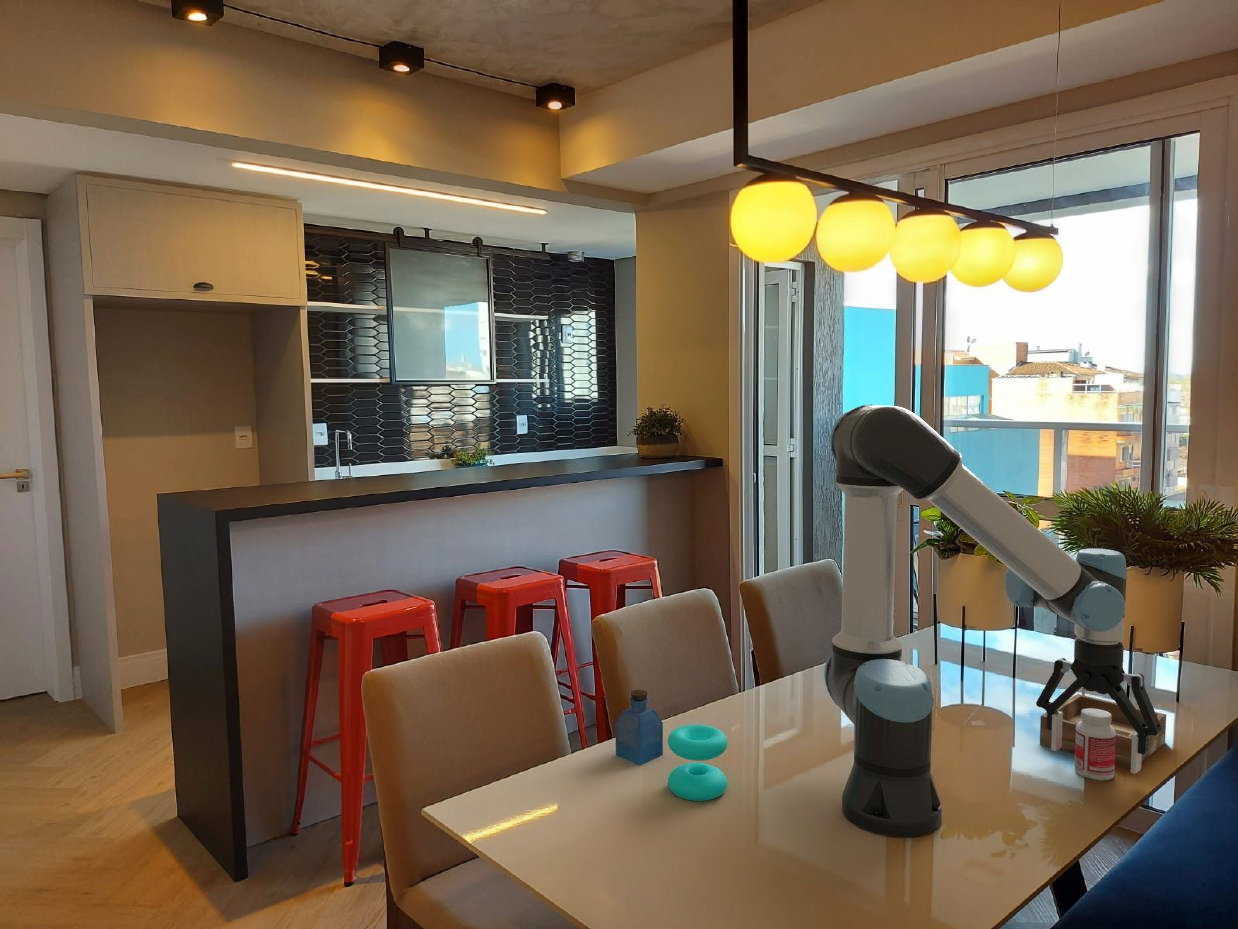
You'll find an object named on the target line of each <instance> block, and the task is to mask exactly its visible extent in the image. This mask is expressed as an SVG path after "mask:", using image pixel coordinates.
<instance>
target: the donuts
mask: <svg viewBox="0 0 1238 929" xmlns="http://www.w3.org/2000/svg"><path fill="white" fill-rule="evenodd" d="M667 744H668V748H669V749H670V751H671V752H672V753H673V754H674V755H676V756H678V757H680V758H681V759H682V758H683V759H685V760H689V761H697V762H688V763H683V764H681V765H678V766H677V767H675V768H673V769H672V770H671V771H670V772H669V776H668V778H667V785H668V788H669V789H670V791H671V792H672V793H673V794H674V795H676V796H678V797H679V798H681V799H685V800H688V801H697V802H700V801H702V802H703V801H704V802H705V801H710V800H714V799H717V798H719V797H720V796H721V795H723V794H724V793H725V791H726V790H727V787H728V780H727V776H726V775H725V773H724V772H723V771H722V770H720V769H719V768H718V767H716V766H714V765H712V764H708V763H703V761H709V760H713V759H716V758H718V757H720V756H721V755H722V754H724V752H725V751H726V750H727V747H728V739H727V736H726V734H725V733H724V732H723V731H722V730H720V729H719V728H716V727H714V726H712V725H711V726H710V725H707V724H687V725H683V726H679V727H677V728H675V729H673V730H672V731H671V732H670V733H669V734H668V737H667ZM698 761H702V762H698Z"/></svg>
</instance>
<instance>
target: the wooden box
mask: <svg viewBox="0 0 1238 929" xmlns="http://www.w3.org/2000/svg"><path fill="white" fill-rule="evenodd" d="M1134 707H1135V708H1136V710H1137V711H1138V713H1139V714H1140V715H1141V717H1142V718H1143V716H1142V714H1141V711H1140V709H1139V707H1136V706H1134ZM1088 708H1092V709H1100V710H1104V711H1107V712H1109V713H1111V717H1112V721H1111V724H1110V725H1111V726H1112V727H1113V728H1114V729H1115V732H1116V742H1115V766H1118V767H1121V768H1124V769H1129V770H1131V750H1132V734H1134V733H1135V732H1136V731H1135V729H1134V728H1133V726H1132V725H1131V724H1130V722H1129V721H1128V719H1127V718H1126V716H1125V715H1124V713H1123V712H1122V711H1121V709H1120V708H1119V706H1118V705H1117V703H1116V702H1115V701H1111V700H1110V701H1109V700H1106V699H1100V698H1097V697H1092V696H1089V695H1084V694H1080V693H1077V694H1074V695H1073V696H1072V697H1071V698H1070V699H1069V700H1067V701H1066V702H1065V703H1064V704H1063V705H1062V706H1061V707H1060V708H1059V709H1058V710H1057V712H1058V711H1060V712H1063V719H1062V747H1061V748H1060V749H1059V750H1060V751H1064V752H1068V753H1072V754H1074V755H1075V738H1076V725H1077V724H1078V723H1079V722H1080V721H1082V719H1081V710H1083V709H1088ZM1155 713H1156V715H1157V718H1158V720H1159V722H1160V725H1161V727H1162V731H1161V732H1159V733H1158V734H1157V735H1155V736H1153V735H1149V743H1148V751H1147V753H1145V754H1144V755H1143V754H1142V758H1141V763H1143V761H1145V760H1146V759H1148V757H1149V756H1151V755H1152V754H1153V753H1154V752H1156V751H1157V750H1158V749H1159V748H1160V747H1162V746H1163V745H1164V744H1165V743H1166V735H1167V733H1166V731H1167V714H1166V713H1162V712H1158V711H1155ZM1143 720H1144V718H1143ZM1039 721H1040V723H1039V724H1040V725H1039V726H1040V727H1039V744H1040V745H1042V746H1046V747H1049V748H1051V742H1052V730H1048V729H1047V712H1046V711H1045V713H1042V714H1041V715H1040V719H1039Z"/></svg>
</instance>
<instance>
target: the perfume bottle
mask: <svg viewBox="0 0 1238 929" xmlns="http://www.w3.org/2000/svg"><path fill="white" fill-rule="evenodd" d="M647 696H648V691H646V690H644V689H635V690H634V689H633V690H631V691H630V698H629V705H630V707H628V708H626V709H624V710H623V711H622V713H621V714H620V716H619V717H618V719H617V720H616V722H615V757H618V758H619V759H623V760H626V761H628V762H631V763H634V764H636V765H639V766H643V765H645V764H646V763H649V762H651V761H653V760H655V759H657V758H659V757H662V756H663V754H664V753H663V752H664V743H663V742H664V741H663V740H664V737H663V736H664V735H663V734H664V731H663V730H664V729H663V728H664V725H663V724H664V723H663V721H662V719H661V718H660V716H659V715H658V713H657V712H656V710H655V709H654V708H653V709H652V708H650V707H648V705H649V698H648V697H647Z"/></svg>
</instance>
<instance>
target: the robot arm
mask: <svg viewBox="0 0 1238 929" xmlns="http://www.w3.org/2000/svg"><path fill="white" fill-rule="evenodd" d="M829 446H830V450H831V453H832V456H833V458H834V460H835V461H836V474H835V475H836V478H835V479H836V481H835V482H836V483H835V485H836V486H838V488H839V489H840V490H841V491H842V492H843V493H844V515H843V516H844V518H843V520H844V521H843V549H842V550H843V555H842V592H841V593H842V595H841V597H842V599H841V628H840V629H841V630H840V631H839V632H838V633H837V634H835V635H834V636H833V637H832V639H831V654H830V655H829V656H828V658H827V659H826V662H825V664H824V671H823V672H824V673H823V676H824V677H823V678H824V683H825V686H826V691H827V693H829V696H830V698H831V699H832V701H833V703H835V705H836V706H837V707H839V709H840V710H841V711H842V712H843V713H844V714H845V716H846V717H847V718H848V719H849V720H850V722H851V723H852V724H853V727H854V728H853V729H854V731H853V732H854V733H853V734H854V736H853V741H854V742H853V764H852V767H851V770H850V773H849V775H848V778H847V780H846V782H845V786H844V789H843V792H842V797H841V811H842V814H843V816H844V817H845V818H846V819H847V820H848V821H849V823H850V822H851V824H853V825H855V826H856V827H858V828H860V829H863V830H865V831H868V832H871V833H874V834H876V835H877V834H878V835H882V836H887V837H894V838H917V837H923V836H927V835H931V834H933V833H935V832H936V831H937V830H939V828H940V827H941V825H942V818H943V817H942V816H943V811H942V810H943V809H942V804H941V801H940V797H939V794H938V791H937V788H936V784H935V782H934V778H933V774H932V770H931V768H932V743H933V742H932V741H933V738H932V737H933V736H932V734H933V708H934V701H935V699H934V694H933V685H932V681H931V679H930V677H929V676H928V674H927V673H926V672H924V670H922V669H921V668H919V667H918V666H915V665H914V664H907V663H906V662H905V661H902V660H903V659H902V656H903V655H902V654H903V651H902V650H903V644H902V642H900V640H898V638H897V637H896V636H895V635H894V613H895V612H894V611H895V608H894V607H895V582H896V581H895V579H896V577H895V576H896V548H897V547H896V545H897V516H898V515H897V514H898V512H897V511H898V509H897V508H898V496H899V494H900V493H902V492H903V491H904V490H905V491H906V492H907V493H909V494H910V495H911V496H912V497H913V498H914V499H916V501H917V500H918V501H928V502H929V503H930V504H931V505H933V506H934V507H935V508H936V509H938V510H939V511H940V512H941V513H942V514H944V515H945V516H946V517H947V518H948V519H950V521H952V522H953V523H954V524H955V525H957V526H958V527H959V528H960V530H963V531H964V532H965V533H966V534H967V535H968V536H970V537H971V538H972V539H973V540H974V541H976V542H977V543H978V544H979V545H980V546H982V547H983V548H984V549H985V550H987V552H988V553H990V554H991V555H992V556H994V557H995V558H996V559H997V560H998V561H999V562H1001V563H1002V564H1003V565H1004V566H1005V567H1007V568H1008V569H1007V570H1006V574H1005V580H1004V581H1005V582H1004V587H1005V593H1006V596H1007V598H1008V600H1009V602H1010V603H1011V604H1012V605H1013V606H1016V607H1018V608H1029V609H1032V608H1041V609H1043V610H1045V611H1048V612H1050V613H1052V614H1054V615H1057V616H1059V617H1062V618H1063V619H1065V620H1067V621H1070V622H1071V623H1074V635H1076V637H1075V638H1074V641H1073V642H1074V645H1073V657H1074V658H1073V661H1069V660H1067V659H1066V658H1065V657H1061V658H1058V659H1056V660H1055V661H1054V662H1053V672H1052V674H1051V675H1050V677H1049V679H1048V681H1047V683H1046V684H1045V686H1044V687H1043V689H1042V691H1041V693H1040V695H1039V697H1038V699H1037V700H1036V702H1035V705H1036V707H1037V708H1041V709H1044V711H1045V713H1046V712H1047V729H1048V730H1052V742H1051V747H1050V750H1051V751H1052V752H1057V751H1058V750H1060V748H1061V747H1062V719H1063V712H1060V711H1058V712H1057V710H1058V709H1059V708H1060V707H1061V706H1062V705H1063V704H1064V703H1065V702H1066V701H1067V700H1069V699H1070V698H1072V697H1073V696H1075V695H1076V693H1077V692H1078V691H1079V690H1080V689H1081V688H1083V689H1085V691H1086V692H1087V691H1088V692H1095V693H1098V694H1100V695H1108V696H1109V697H1110V699H1111V700H1112V701H1113V702H1115V703H1117V705H1118V706H1119V708H1120V709H1121V711H1122V712H1123V713H1124V715H1125V716H1126V718H1127V719H1128V721H1129V722H1130V724H1131V725H1132V726H1133V728H1134V729H1135V731H1136V732H1135V733H1134V734H1132V750H1131V769H1130V773H1132V774H1137V773H1138V772H1140V771H1141V770H1142V762H1141V758H1142V754H1143V755H1144V754H1145V753H1147V751H1148V743H1149V735H1153V736H1155V735H1157V734H1158V733H1159V732H1161V731H1162V727H1161V725H1160V722H1159V720H1158V718H1157V715H1156V713H1155V712H1156V711H1155V709H1154V706H1153V703H1152V701H1151V700H1150V697H1149V695H1148V692H1147V690H1146V687H1145V676H1144V675H1143V673H1140V672H1139V673H1137V674H1134V673H1126V671H1125V670H1124V667H1123V666H1124V651H1125V650H1124V649H1125V648H1124V645H1125V644H1124V643H1123V640H1124V639H1125V618H1126V617H1125V615H1126V614H1125V613H1126V594H1127V593H1126V592H1127V581H1128V577H1127V574H1128V573H1127V563H1126V562H1127V559H1126V557H1125V555H1124V554H1123V553H1122V552H1120V551H1116V550H1112V549H1106V548H1084V549H1083V548H1082V549H1080V550H1078V552H1077V554H1076V558H1075V559H1073V558H1072V557H1071V556H1070V555H1069V554H1068V553H1067V552H1066V551H1064V549H1062V548H1061V547H1060V546H1058V545H1057V544H1056V543H1055V542H1054V541H1053V540H1051V538H1049V537H1048V536H1047V535H1046V534H1044V533H1043V532H1042V531H1041V530H1040V529H1038V528H1037V527H1036V525H1034V524H1033V523H1031V522H1030V521H1029V520H1028V519H1027V518H1026V517H1025V516H1024V515H1022V514H1021V513H1020V512H1019V511H1017V510H1016V509H1015V508H1014V507H1013V506H1012V505H1010V503H1009V502H1007V501H1006V500H1005V499H1004V498H1003V497H1001V496H1000V495H999V494H998V493H996V491H994V490H993V489H992V488H991V487H990V486H989V485H987V484H986V483H985V482H984V481H983V480H982V479H980V478H979V477H978V476H976V474H975V473H973V472H972V471H971V470H970V469H968V468H967V467H966V466H965V465H964V464H963V463H962V462H963V457H962V454H961V453H960V452H959V451H958V450H957V449H956V448H955V447H953V446H952V445H951V444H950V443H949V442H948V441H947V440H946V439H944V437H942V436H941V435H940V434H939V433H938V432H937V431H936V430H934V429H933V428H932V427H931V426H930V425H929V424H928V423H927V422H925V420H923V419H922V417H920V416H918V415H917V414H916V413H914V412H912V411H910V410H909V409H907V408H904V407H902V406H896V405H877V404H872V403H871V404H864V405H863V404H862V405H860V406H857V407H854V408H851V409H849V410H847V411H846V412H844V413H842V415H841V416H840V417H839V418H838V419H837V420H836V421H835V423H834V425H833V427H832V428H831V432H830V438H829ZM1070 670H1071V672H1072V673H1073V675H1074V677H1075V678H1076V679H1075V680H1074V681H1073V682H1072V683H1070V685H1069V686H1068V687H1067V688H1066V689H1065V690H1064V691H1063V692H1062V693H1061V694H1060V695H1058V697H1056V698H1055V699H1054V700H1053V701H1052V702H1051V701H1050V700H1051V698H1052V697H1053V695H1054V693H1055V691H1056V689H1058V688H1057V687H1058V686H1059V684H1060V682H1061V681H1062V679H1063V677H1064V676H1065V674H1066V673H1068V672H1069V671H1070ZM1124 681H1125V682H1126V683H1127V686H1128V687H1130V688H1131V692H1132V694H1133V697H1134V699H1135V701H1136V703H1137V706H1138V708H1139V709H1140V711H1141V714H1142V716H1143V718H1144V720H1143V718H1142V717H1141V715H1140V714H1139V713H1138V711H1137V710H1136V708H1137V707H1136V706H1135V705H1134V704H1133V702H1132V701H1131V700H1130V699H1129V697H1128V696H1127V694H1126V691H1125V690H1124V689H1125V688H1123V686H1122V683H1123V682H1124ZM1135 707H1136V708H1135Z"/></svg>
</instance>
